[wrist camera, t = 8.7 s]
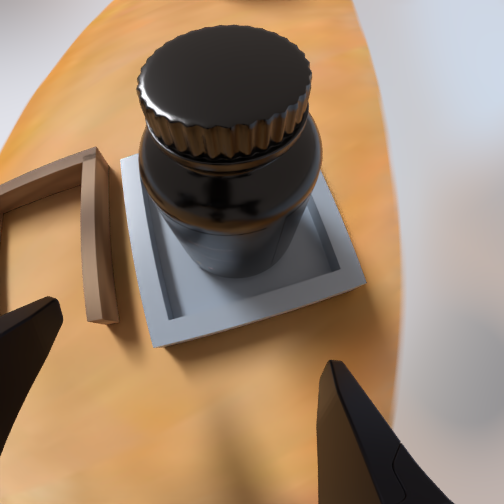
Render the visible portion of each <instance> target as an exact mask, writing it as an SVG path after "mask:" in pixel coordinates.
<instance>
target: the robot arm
mask: <svg viewBox="0 0 504 504" xmlns="http://www.w3.org/2000/svg"><path fill="white" fill-rule="evenodd" d="M62 323H63V315H62V312H61V308H60V304H59V301H58V300H57V299H56V298H53V297H50V296H47V297H44V298H42V299H40V300H37V301H35V302H32V303H30V304H28V305H25V306H23V307H21V308H18V309H16V310H14V311H11V312H9V313H7V314H4V315H2V316H0V456H1V453H2V451H3V448H4V445H5V443H6V440H7V438H8V436H9V433H10V431H11V429H12V426H13V424H14V422H15V420H16V417H17V415H18V413H19V411H20V409H21V407H22V405H23V403H24V401H25V398H26V396H27V394H28V392H29V390H30V388H31V387H32V385H33V383H34V381H35V379H36V377H37V375H38V373H39V371H40V369H41V368H42V366H43V364H44V362H45V360H46V358H47V356H48V354H49V352H50V350H51V347H52V345H53V343H54V341H55V338H56V336H57V334H58V332H59V330H60V328H61V325H62ZM316 430H317V456H318V504H454V503H453V502H452V501H451V500H449V499H448V498H447V496H446V495H445V494H444V493H443V492H442V491H441V490H440V489H439V488H438V487H437V486H436V485H435V483H433V481H432V480H431V479H430V478H429V477H428V476H427V475H426V474H425V472H424V471H423V470H422V469H421V468H420V467H419V465H418V464H417V463H416V462H415V460H414V459H413V458H412V456H411V455H410V454H409V452H408V451H407V450H406V448H405V447H404V445H402V443H400V440H399V439H398V438H397V436H396V435H395V433H394V432H393V430H392V429H391V428H390V426H389V425H388V423H387V422H386V421H385V419H384V418H383V416H382V415H381V414H380V412H379V411H378V410H377V408H376V407H375V405H374V404H373V403H372V401H371V400H370V398H369V397H368V396H367V394H366V393H365V392H364V390H363V389H362V387H361V386H360V385H359V383H358V382H357V381H356V379H355V378H354V376H353V375H352V374H351V372H350V371H349V370H348V368H347V367H346V365H345V364H344V363H343V362H342V361H338V360H329V361H328V362H327V364H326V366H325V369H324V371H323V373H322V375H321V377H320V381H319V395H318V410H317V424H316Z"/></svg>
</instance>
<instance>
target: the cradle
mask: <svg viewBox="0 0 504 504" xmlns="http://www.w3.org/2000/svg"><path fill="white" fill-rule="evenodd" d="M79 185H81V257H82V274H83V287H84V297H85V307H86V315H87V321H88V322H93V323H99V324H105V325H107V324H113V323H119V322H120V321H119V315H118V308H117V301H116V293H115V284H114V275H113V265H112V253H111V239H110V221H109V165H108V163H107V162H106V160H105V159H104V157H103V156H102V154H101V153H100V151H99V150H98V148H97V147H93V148H90V149H87V150H84V151H82V152H79V153H76V154H73V155H70V156H68V157H65V158H62V159H60V160H57V161H54V162H52V163H49V164H47V165H44V166H42V167H40V168H37V169H35V170H32V171H30V172H28V173H26V174H23V175H21V176H19V177H17V178H14V179H12V180H10V181H8V182H6V183H4V184H2V185H0V240H1V229H2V219H3V214H4V213H6V212H9V211H11V210H13V209H16V208H18V207H21V206H23V205H26V204H28V203H31V202H34V201H36V200H39V199H41V198H44V197H47V196H50V195H52V194H55V193H58V192H61V191H64V190H67V189H70V188H73V187H76V186H79Z"/></svg>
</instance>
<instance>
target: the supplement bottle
mask: <svg viewBox="0 0 504 504" xmlns="http://www.w3.org/2000/svg"><path fill="white" fill-rule="evenodd" d="M311 80H312V72H311V70H310V62H309V61H308V60H307V59H306V58H305V54H304V53H303V52H302V51H301V50H299V49H298V47H297V45H295V44H293V43H291V42H290V41H289V40H288V39H287V38H285V37H282V36H279V35H278V34H277V33H275V32H270V31H267V30H265V29H263V28H254V27H251V26H239V25H228V26H226V25H219V26H214V27H205V28H202V29H199V30H194V31H190V32H188V33H186V34H183V35H180V36H177V37H176V38H175V39H173V40H171V41H168V42H166V43H165V44H164V45H163V46H162V47H160V48H159V49H157V50H156V51H155V52H154V54H153V55H152V56H150V57H149V58H148V59H147V61H146V64H145V65H144V66H143V67H142V68H141V73H140V75H139V76H138V78H137V82H138V86H137V88H136V90H137V95H138V97H139V102H140V105H141V108H142V111H143V113H144V115H145V120H146V127H145V130H144V132H143V135H142V138H141V142H140V146H139V154H138V163H139V171H140V176H141V179H142V182H143V184H144V186H145V189H146V191H147V193H148V194H149V196H150V198H151V200H152V201H153V203H154V204H155V206H156V208H157V209H158V211H159V212H160V214H161V215H162V217H163V218H164V220H165V221H166V223H167V224H168V226H169V227H170V229H171V230H172V232H173V233H174V235H175V236H176V238H177V239H178V241H179V242H180V244H181V245H182V247H183V248H184V250H185V251H186V252H187V254H188V255H189V256H190V257H191V259H192V260H193V261H194V262H195V263H196V264H197V265H199V266H200V267H201V268H203V269H204V270H206V271H208V272H210V273H212V274H214V275H217V276H220V277H224V278H234V279H238V278H247V277H251V276H255V275H258V274H260V273H262V272H264V271H266V270H268V269H269V268H271V267H272V266H273V265H275V264H276V263H277V262H278V261H279V260H280V259H281V257H282V256H283V255H284V254H285V252H286V251H287V249H288V247H289V245H290V243H291V241H292V239H293V237H294V234H295V232H296V230H297V227H298V225H299V223H300V220H301V218H302V216H303V213H304V211H305V208H306V206H307V204H308V201H309V199H310V197H311V194H312V192H313V189H314V187H315V185H316V182H317V179H318V176H319V172H320V169H321V164H322V152H323V151H322V141H321V137H320V133H319V130H318V128H317V125H316V123H315V121H314V119H313V117H312V116H311V114H310V113H309V103H308V99H309V95H310V90H311Z"/></svg>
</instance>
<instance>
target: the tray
mask: <svg viewBox="0 0 504 504" xmlns="http://www.w3.org/2000/svg"><path fill="white" fill-rule="evenodd" d="M138 154H139V153H138ZM138 154H135V155H132V156H129V157H126V158H123V159H120V162H121V173H122V183H123V192H124V200H125V208H126V216H127V223H128V229H129V236H130V242H131V248H132V254H133V259H134V265H135V270H136V275H137V280H138V285H139V290H140V295H141V299H142V304H143V308H144V313H145V317H146V321H147V325H148V329H149V333H150V337H151V341H152V345H153V348H158V347H167V346H171V345H175V344H179V343H182V342H186V341H190V340H194V339H198V338H202V337H205V336H209V335H213V334H216V333H220V332H223V331H227V330H231V329H234V328H238V327H241V326H244V325H248V324H251V323H254V322H258V321H261V320H264V319H268V318H271V317H274V316H277V315H280V314H284V313H287V312H290V311H293V310H296V309H299V308H302V307H305V306H308V305H311V304H314V303H317V302H320V301H323V300H326V299H329V298H331V297H334V296H337V295H340V294H343V293H346V292H348V291H351V290H354V289H356V288H358V287H360V286H362V285H364V284H366V283H367V282H366V280H365V277H364V274H363V271H362V269H361V266H360V263H359V261H358V258H357V255H356V253H355V250H354V248H353V245H352V243H351V240H350V237H349V235H348V232H347V230H346V228H345V225H344V223H343V220H342V218H341V215H340V213H339V211H338V208H337V206H336V204H335V201H334V199H333V197H332V195H331V192H330V190H329V188H328V186H327V183H326V181H325V179H324V177H323V175H322V172H321V170H320V172H319V176H318V179H317V182H316V185H315V187H314V189H313V192H312V194H311V197H310V199H309V201H308V204H307V206H306V208H305V211H304V213H303V216H302V218H301V220H300V223H299V225H298V227H297V230H296V232H295V234H294V237H293V239H292V241H291V243H290V245H289V247H288V249H287V251H286V252H285V254H284V255H283V256H282V257H281V259H280V260H279V261H278V262H277V263H276V264H275V265H273V266H272V267H271V268H269V269H268V270H266V271H264V272H262V273H260V274H258V275H255V276H251V277H247V278H238V279H234V278H224V277H220V276H217V275H214V274H212V273H210V272H208V271H206V270H204V269H203V268H201V267H200V266H199V265H197V264H196V263H195V262H194V261H193V260H192V259H191V257H190V256H189V255H188V254H187V252H186V251H185V250H184V248H183V247H182V245H181V244H180V242H179V241H178V239H177V238H176V236H175V235H174V233H173V232H172V230H171V229H170V227H169V226H168V224H167V223H166V221H165V220H164V218H163V217H162V215H161V214H160V212H159V211H158V209H157V208H156V206H155V204H154V203H153V201H152V200H151V198H150V196H149V194H148V193H147V191H146V189H145V186H144V184H143V182H142V179H141V176H140V171H139V163H138Z"/></svg>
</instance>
